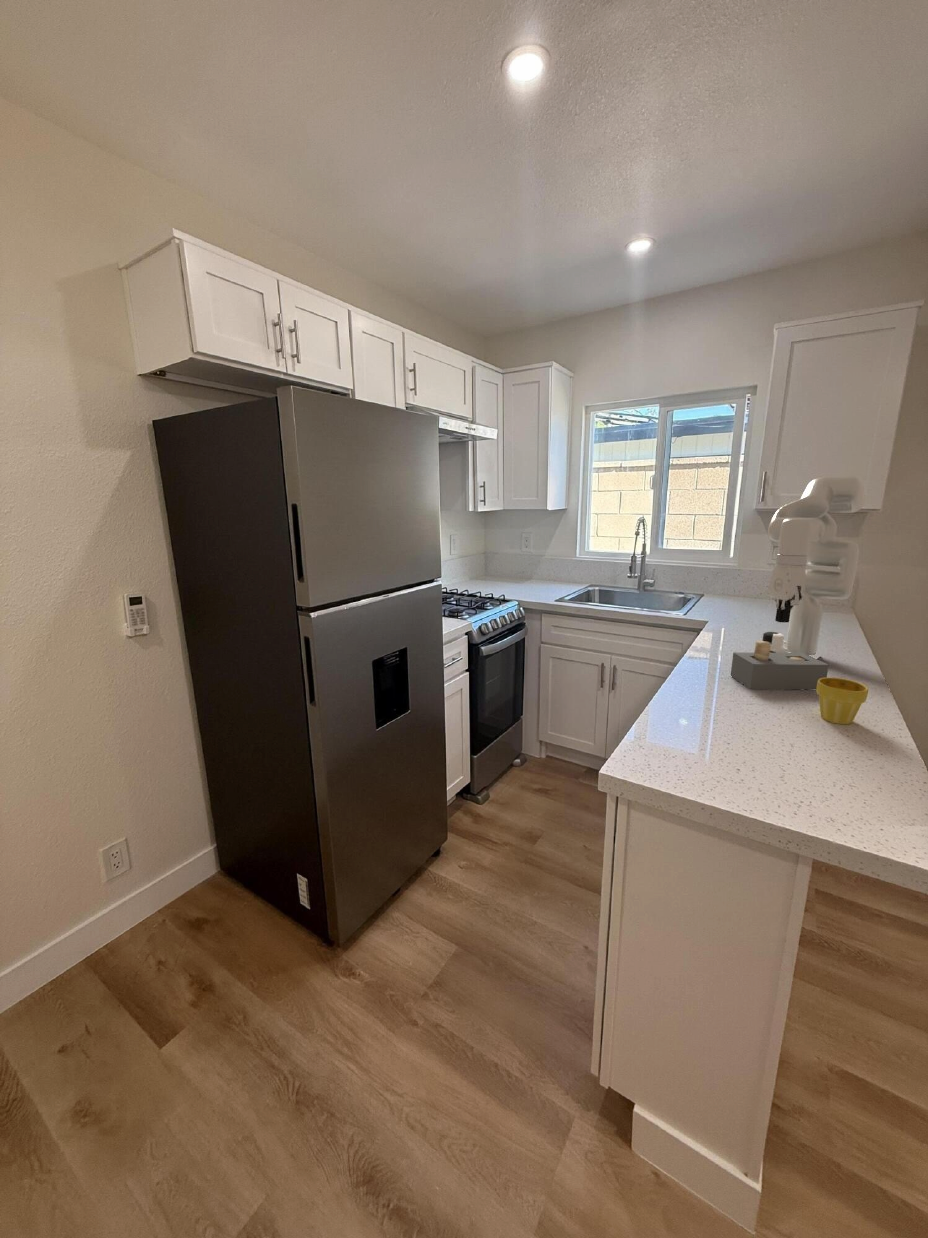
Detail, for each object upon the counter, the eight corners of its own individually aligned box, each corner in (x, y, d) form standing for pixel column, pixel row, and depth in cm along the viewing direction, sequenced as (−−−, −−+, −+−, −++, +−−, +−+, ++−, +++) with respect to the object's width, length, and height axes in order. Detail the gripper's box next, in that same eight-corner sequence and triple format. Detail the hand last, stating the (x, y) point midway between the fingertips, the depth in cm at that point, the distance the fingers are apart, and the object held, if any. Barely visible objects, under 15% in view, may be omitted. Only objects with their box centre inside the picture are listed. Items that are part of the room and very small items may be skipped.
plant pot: (837, 729, 123) (844, 692, 120) (802, 713, 132) (807, 678, 130) (872, 726, 125) (879, 689, 122) (834, 709, 134) (840, 675, 132)
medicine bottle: (752, 665, 172) (757, 631, 169) (765, 662, 175) (770, 629, 172) (772, 671, 166) (777, 636, 163) (786, 668, 169) (791, 634, 166)
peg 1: (750, 662, 156) (753, 640, 154) (763, 662, 156) (766, 640, 154) (757, 666, 152) (760, 644, 150) (770, 666, 152) (773, 644, 150)
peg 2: (783, 678, 156) (786, 657, 155) (796, 678, 156) (799, 657, 155) (791, 682, 153) (794, 661, 151) (804, 682, 152) (808, 661, 151)
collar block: (730, 676, 161) (733, 652, 159) (799, 676, 160) (803, 653, 159) (750, 689, 149) (753, 664, 147) (824, 690, 149) (828, 664, 147)
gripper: (763, 558, 153) (755, 616, 157) (794, 563, 139) (785, 627, 143) (787, 558, 153) (778, 616, 157) (821, 563, 139) (811, 627, 143)
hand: (781, 621), depth 150 cm, fingers closed
